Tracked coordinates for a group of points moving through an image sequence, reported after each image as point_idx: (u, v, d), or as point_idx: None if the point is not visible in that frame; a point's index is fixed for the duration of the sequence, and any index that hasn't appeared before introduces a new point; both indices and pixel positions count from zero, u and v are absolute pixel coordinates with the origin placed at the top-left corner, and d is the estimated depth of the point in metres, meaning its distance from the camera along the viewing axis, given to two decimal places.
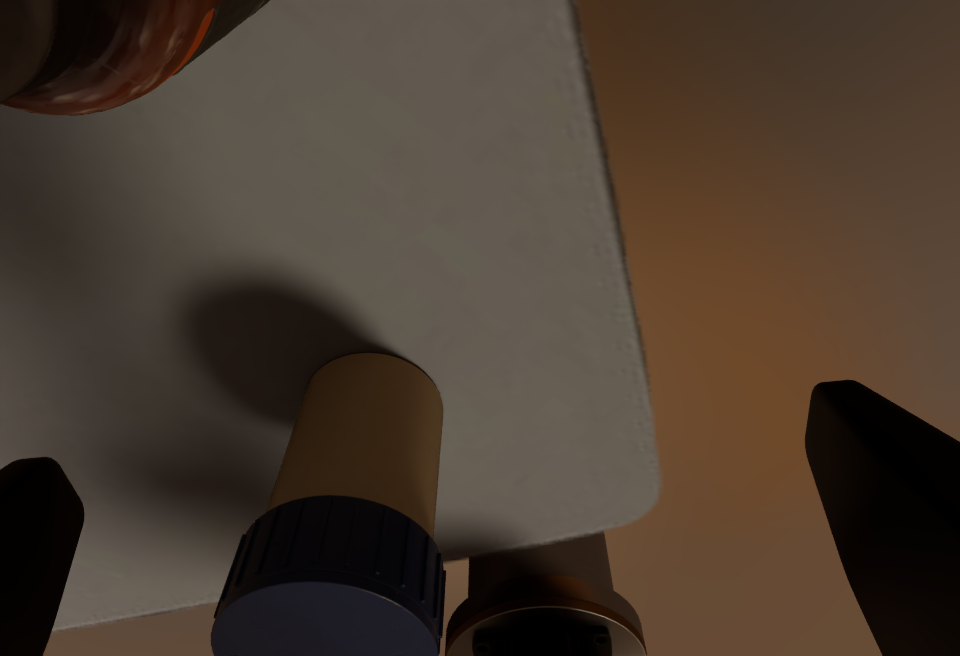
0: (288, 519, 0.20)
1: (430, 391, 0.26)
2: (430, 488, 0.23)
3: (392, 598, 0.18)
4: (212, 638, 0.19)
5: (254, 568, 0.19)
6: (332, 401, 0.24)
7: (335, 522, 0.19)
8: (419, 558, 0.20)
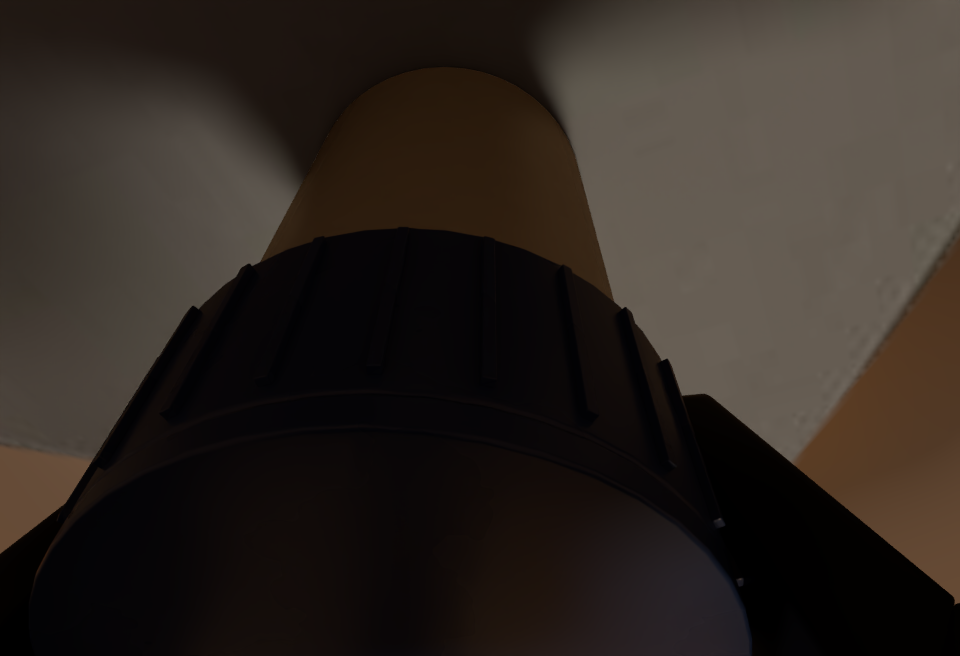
0: (455, 268, 0.06)
1: None
2: None
3: None
4: (72, 531, 0.05)
5: (351, 355, 0.05)
6: (469, 115, 0.11)
7: (595, 332, 0.06)
8: None
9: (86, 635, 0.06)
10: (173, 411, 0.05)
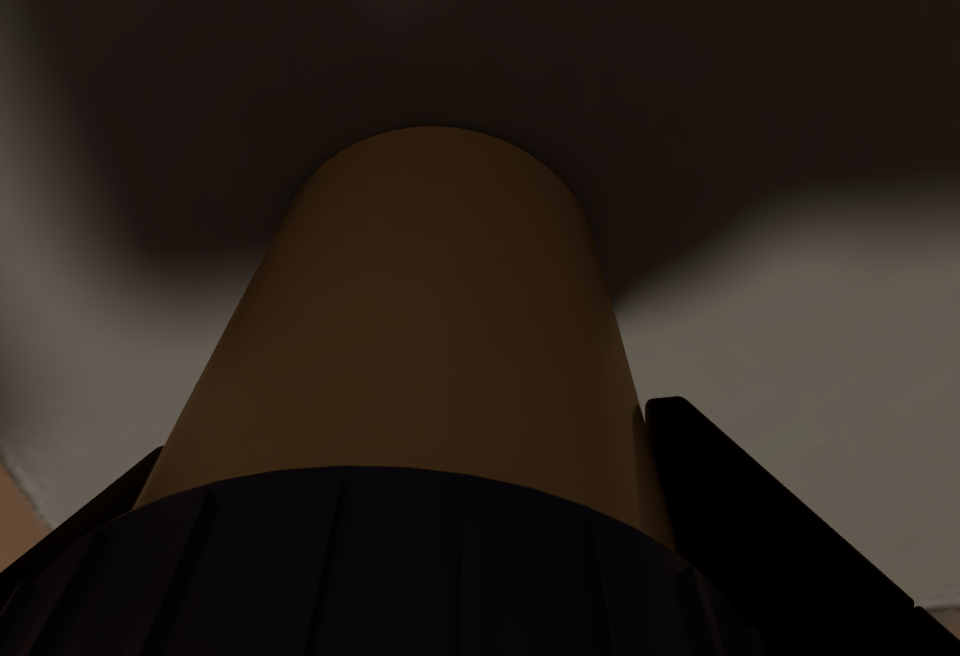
0: (415, 568, 0.04)
1: None
2: None
3: None
4: None
5: None
6: None
7: None
8: None
9: None
10: None
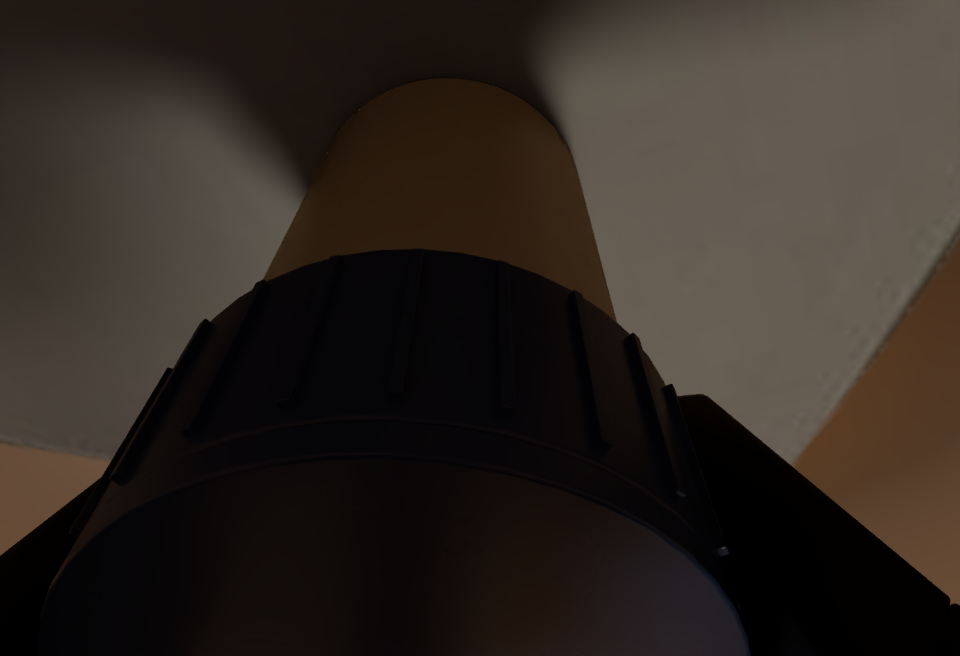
0: None
1: None
2: None
3: (356, 447, 0.05)
4: None
5: None
6: (462, 126, 0.11)
7: (201, 358, 0.07)
8: (471, 313, 0.06)
9: None
10: None
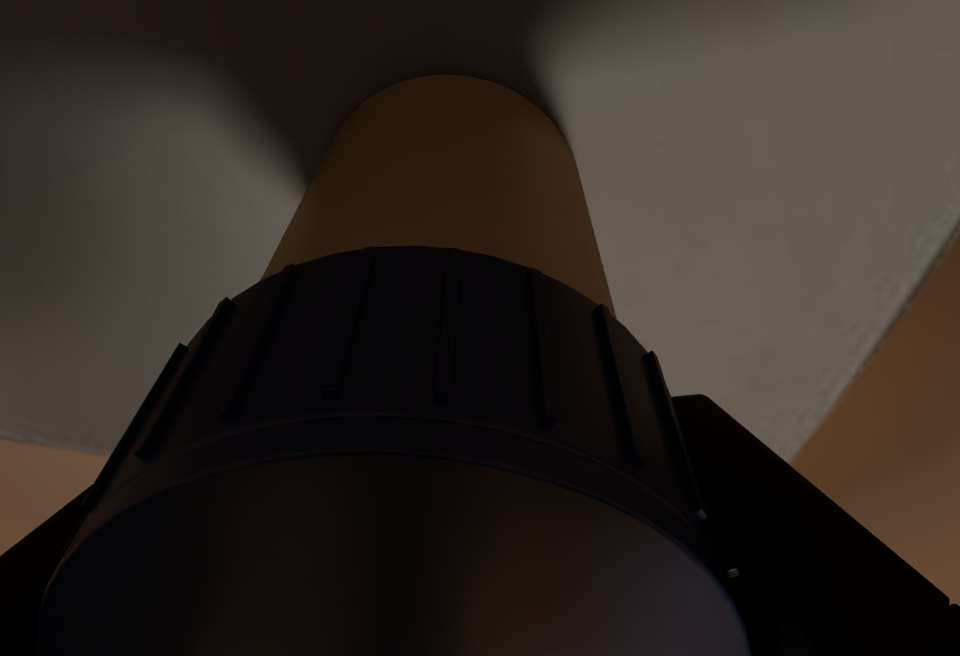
0: None
1: None
2: None
3: None
4: None
5: None
6: (463, 122, 0.11)
7: None
8: None
9: None
10: None
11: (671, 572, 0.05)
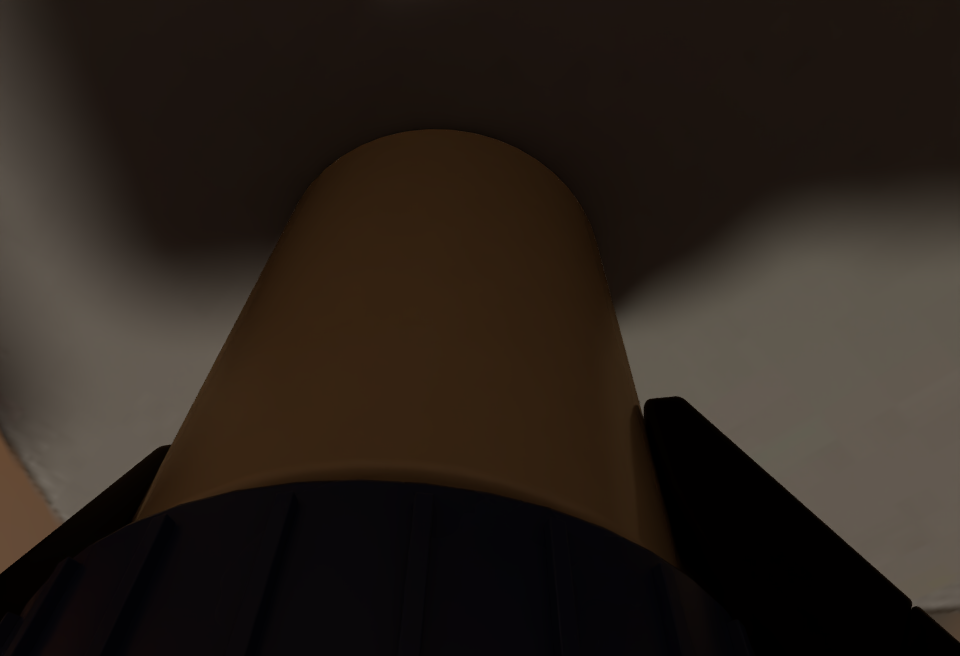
0: None
1: None
2: None
3: None
4: None
5: None
6: None
7: None
8: None
9: None
10: None
11: None
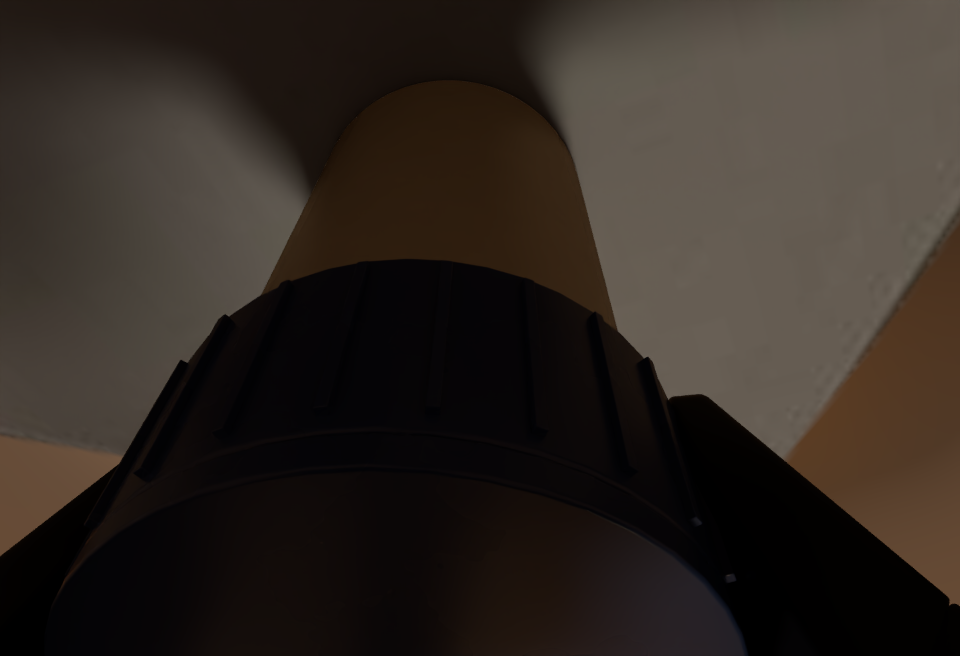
0: None
1: None
2: None
3: None
4: (622, 530, 0.05)
5: None
6: (464, 127, 0.11)
7: None
8: None
9: (441, 520, 0.05)
10: (694, 522, 0.06)
11: None
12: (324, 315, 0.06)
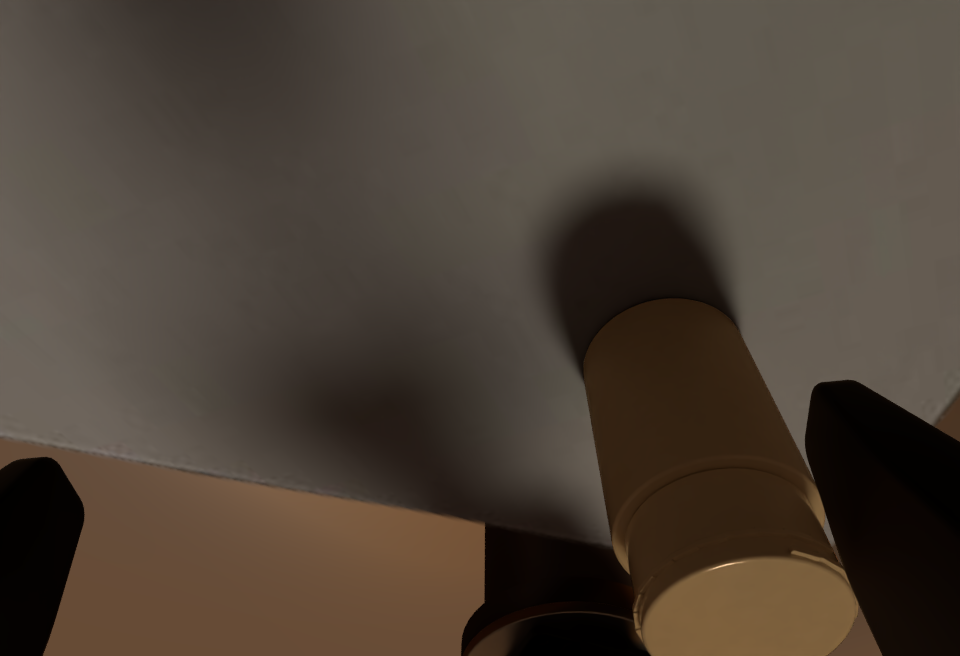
0: None
1: None
2: None
3: None
4: None
5: None
6: (706, 347, 0.21)
7: None
8: None
9: None
10: None
11: None
12: None
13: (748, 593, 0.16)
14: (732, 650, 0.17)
